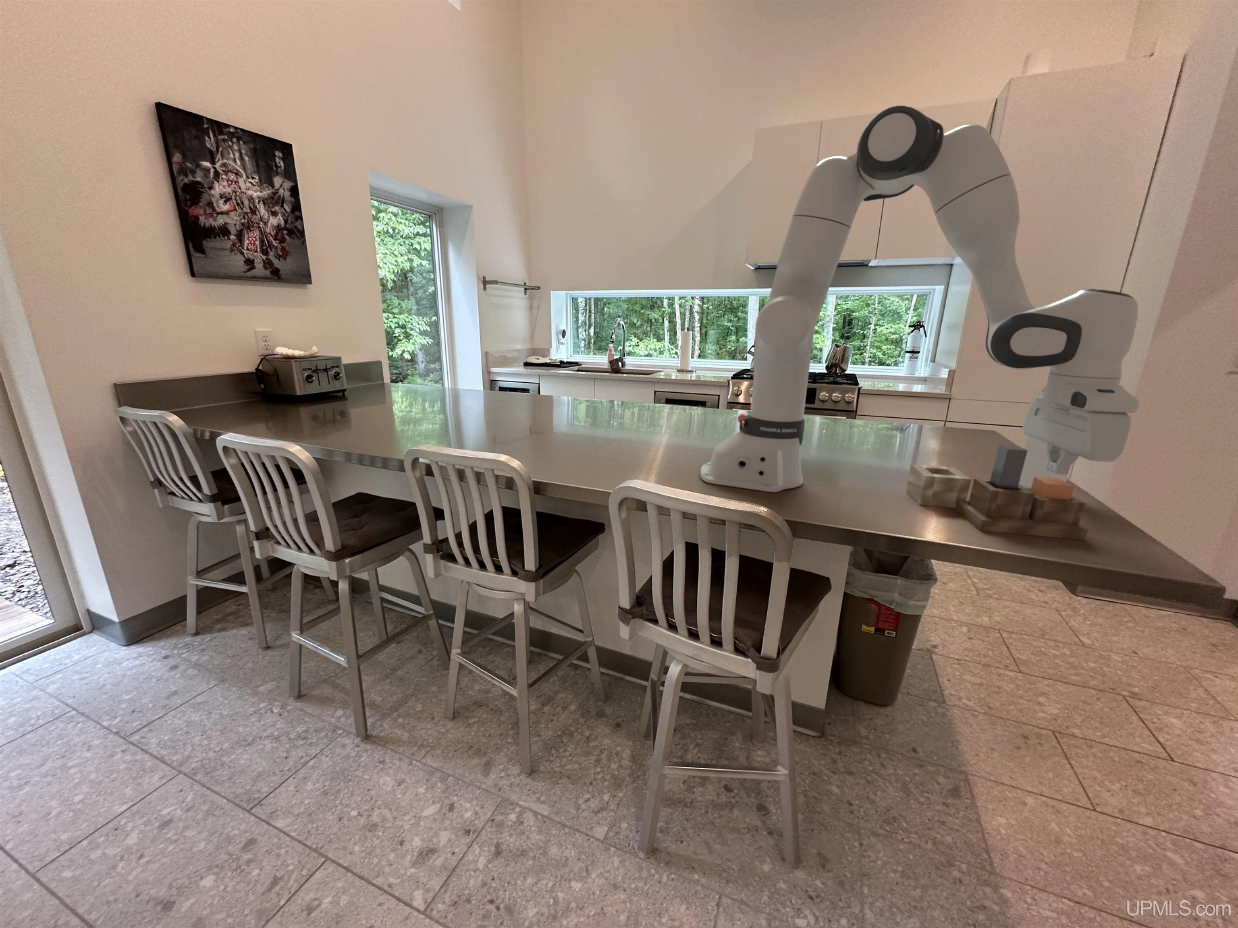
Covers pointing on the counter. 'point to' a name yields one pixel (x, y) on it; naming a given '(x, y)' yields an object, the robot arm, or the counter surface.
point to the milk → (1036, 463)
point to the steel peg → (1008, 467)
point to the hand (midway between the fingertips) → (1056, 472)
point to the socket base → (1021, 512)
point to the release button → (1052, 488)
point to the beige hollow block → (937, 485)
